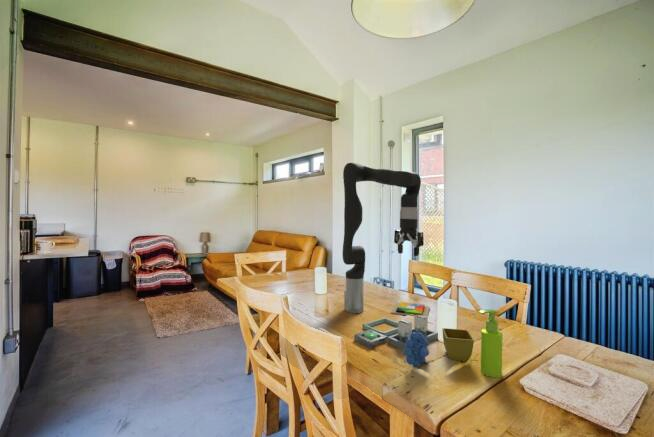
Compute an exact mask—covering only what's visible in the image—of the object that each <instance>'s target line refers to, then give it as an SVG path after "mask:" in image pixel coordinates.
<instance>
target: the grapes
mask: <svg viewBox="0 0 654 437" xmlns="http://www.w3.org/2000/svg"><path fill="white" fill-rule="evenodd" d="M410 337H411V338H407V339H406V340H405V344H406V346H408V347H405V348H404V350H402V352H403V354H404V356H405V361H406V363H407V364H408V365H409V366H411V365H412V367H413V368H416V369H417V368H418V367H419V366H421V364H425V363H426V362H427V360H426V357H428V356H429V355H430V350H429V349H428V348H427V347H429V344H430V342H429V343H428V341H427V339H425V337H424V334H423V333H421V332H419V333H416V332H412V333H411V334H410Z"/></svg>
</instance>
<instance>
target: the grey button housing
mask: <svg viewBox="0 0 654 437" xmlns="http://www.w3.org/2000/svg"><path fill="white" fill-rule="evenodd" d="M367 332H373V333H376V334H377V338H375V339H373V340H369V339H367V338H365V337H364V334H365V333H367ZM353 337H354V338H353V339H354V341H355V342H357V343H359V344H361V345H363V346H365V347H366V348H369V349H373V348H376V347H377V346H379V345H382V344H384V343H388V337H389V336H385V335H383V334H380V333H378V332H376V331H374V330H371V329H370V330H364V331H362V332H359V333H358V332H357V333H355V334H354V336H353Z"/></svg>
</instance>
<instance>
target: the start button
mask: <svg viewBox="0 0 654 437" xmlns="http://www.w3.org/2000/svg"><path fill="white" fill-rule="evenodd" d="M364 337H365V338H367V339H369V340H373V339H375V338H377V334H376V333H373V332H367V333H365V334H364Z"/></svg>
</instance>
